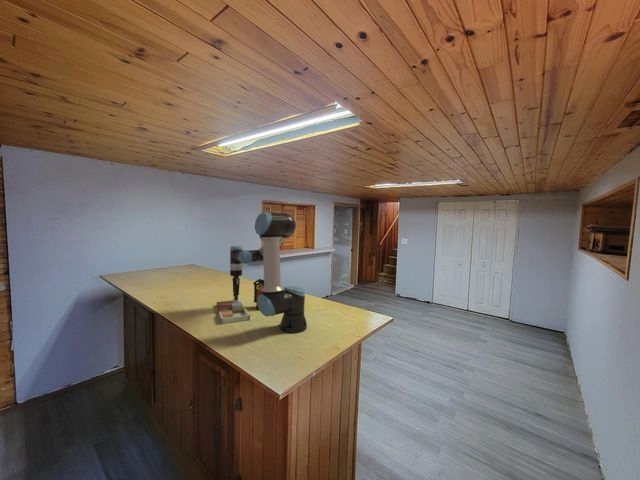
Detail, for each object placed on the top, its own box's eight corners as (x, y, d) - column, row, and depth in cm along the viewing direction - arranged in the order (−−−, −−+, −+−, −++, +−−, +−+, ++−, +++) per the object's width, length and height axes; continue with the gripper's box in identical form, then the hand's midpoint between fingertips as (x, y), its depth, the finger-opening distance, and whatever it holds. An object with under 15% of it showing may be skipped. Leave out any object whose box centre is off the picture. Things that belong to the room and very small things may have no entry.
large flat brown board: (243, 313, 171) (243, 309, 171) (220, 316, 165) (220, 312, 165) (237, 303, 191) (237, 299, 191) (216, 305, 184) (216, 302, 184)
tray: (250, 320, 160) (250, 315, 160) (221, 324, 153) (221, 319, 153) (245, 313, 172) (245, 308, 172) (218, 316, 164) (219, 311, 164)
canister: (268, 310, 178) (268, 281, 177) (251, 309, 178) (251, 280, 177) (270, 306, 187) (271, 278, 185) (255, 305, 187) (255, 277, 186)
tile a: (233, 318, 162) (233, 314, 161) (222, 319, 159) (222, 315, 159) (231, 314, 167) (231, 310, 167) (221, 316, 164) (221, 312, 164)
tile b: (242, 308, 173) (242, 304, 173) (232, 309, 170) (232, 305, 170) (240, 305, 178) (240, 302, 178) (231, 306, 176) (231, 303, 175)
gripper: (243, 270, 172) (243, 306, 173) (240, 267, 183) (239, 301, 185) (231, 271, 168) (231, 308, 170) (228, 267, 180) (228, 302, 181)
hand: (235, 304), depth 177 cm, fingers closed
